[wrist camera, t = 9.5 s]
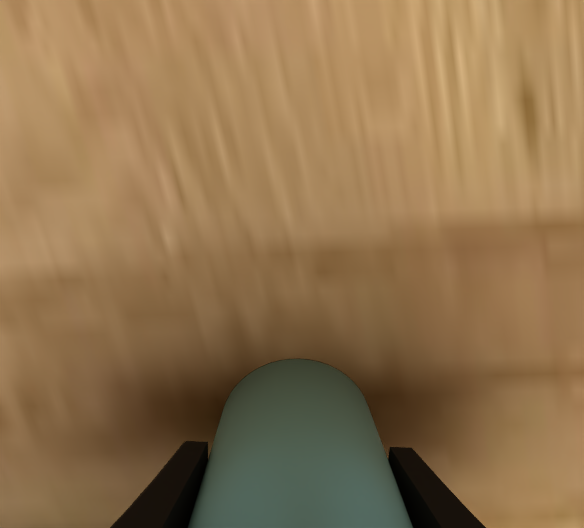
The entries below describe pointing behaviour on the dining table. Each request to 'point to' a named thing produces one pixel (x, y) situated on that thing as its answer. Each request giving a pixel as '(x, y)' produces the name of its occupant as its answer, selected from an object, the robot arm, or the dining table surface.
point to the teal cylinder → (298, 456)
